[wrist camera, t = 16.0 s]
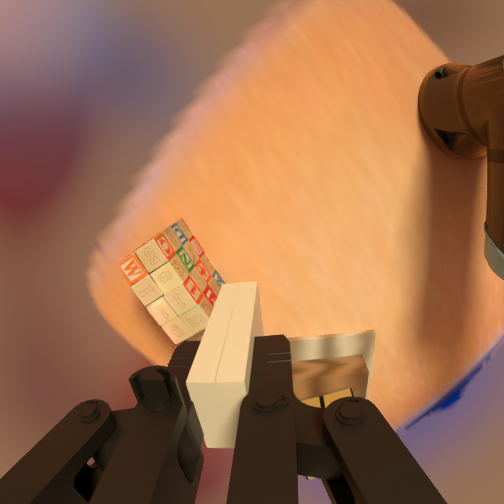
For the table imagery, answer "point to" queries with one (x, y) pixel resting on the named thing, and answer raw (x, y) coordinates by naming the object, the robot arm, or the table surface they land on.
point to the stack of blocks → (174, 282)
